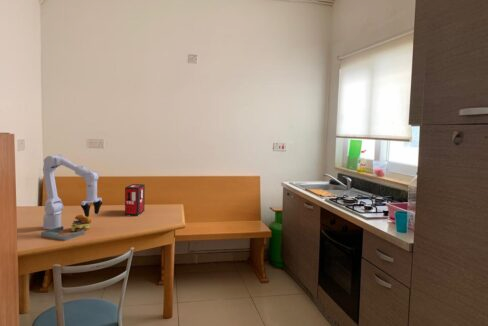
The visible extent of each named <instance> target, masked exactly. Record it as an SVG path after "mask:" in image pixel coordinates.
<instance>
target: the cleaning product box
mask: <svg viewBox="0 0 488 326" xmlns="http://www.w3.org/2000/svg"><path fill="white" fill-rule="evenodd" d="M145 186H146V185H145V184H143V183H142V184H141V183H140V184H139V183H131V184H130V185H128V186H127V185H126V187H124V216H125V215H130V216H129V217H139V216H140V215H141V214H143V213H144V212H145V191H146V190H145ZM143 211H144V212H143ZM142 212H143V213H142ZM139 214H140V215H139ZM138 215H139V216H138Z"/></svg>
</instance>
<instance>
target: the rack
mask: <svg viewBox="0 0 488 326" xmlns="http://www.w3.org/2000/svg"><path fill="white" fill-rule="evenodd" d="M63 226H64V225H61V226H60V227H57V228H54V229H50V230H49V229H46V230H44V231H41V233H40V236H41V238H42V237H43V238H48V239H53V240H59V241H69V240H70V239H74V238H76V237H79V236H82V235H85V234H86V230H84V229H83V230H80V231H73V232H72V233H68V234H65V235H64V234H60V233H59V232H63V231H64V228H63Z"/></svg>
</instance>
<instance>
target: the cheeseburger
mask: <svg viewBox="0 0 488 326" xmlns="http://www.w3.org/2000/svg"><path fill="white" fill-rule="evenodd" d="M74 219H75V220H73V221H72V223H71V224H72V225H71V232H77V231H80V230H83V229H84V230H85V231H88V230H89V228H90V226H91V225H90V224H91V223H92V218H91V217H90V216H89V217H86V216H85V215H83V214H77V215H76V216H75V217H74Z"/></svg>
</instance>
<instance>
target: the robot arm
mask: <svg viewBox="0 0 488 326" xmlns="http://www.w3.org/2000/svg"><path fill="white" fill-rule="evenodd" d="M61 166H64V167H65V168H68V169H69V170H72V171H74V174H75V175H77V176H79V177H80V178H82V179H83V180H84V181H85V183H86V199H84V200H83V201H81V203H80V207H81V209H82V210H83V213H84V217H90V209H91V207H92V205H90V204H93V208H94V210H93V212H94V214H95V215H98V214H99V212H100V209H101V206H102V205H103V199H102V198H103V197H98V180H99V178H100V176H99V175H100V174H99V173H98V172H97V171H94V170H93V171H92V170H91V169H89V168H86V166H85V165H77V164H75V163H74V162H72V161H70V160H69V159H68V158H66V156H63V155H61V154H55V155H47V156H46V157H45V158H44V159H43V167H42V171H43V172H42V173H43V178H44V185H45V190H46V197H47V199H46V200H45V202H44V212H45V214H44V216H43V223H42V225H43V227H42V229H43V230H50V229H54V228H57V227H60V226H63V229H64V228H65V226H64V225H62V211H63V210H64V204H63V202H62V199H61V198H60V197H59V195H58V190H57V184H56V183H57V182H56V178H55V173H54V171H55V170H56V169H57V168H58V167H61Z"/></svg>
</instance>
